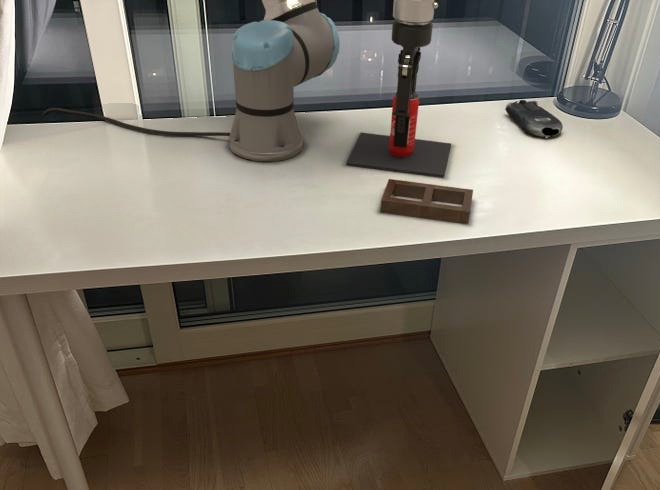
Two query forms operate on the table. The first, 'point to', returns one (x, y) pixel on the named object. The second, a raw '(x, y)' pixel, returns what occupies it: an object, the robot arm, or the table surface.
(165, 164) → the table surface
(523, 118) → the electronic device
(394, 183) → the tray
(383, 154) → the mat
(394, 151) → the beverage can
